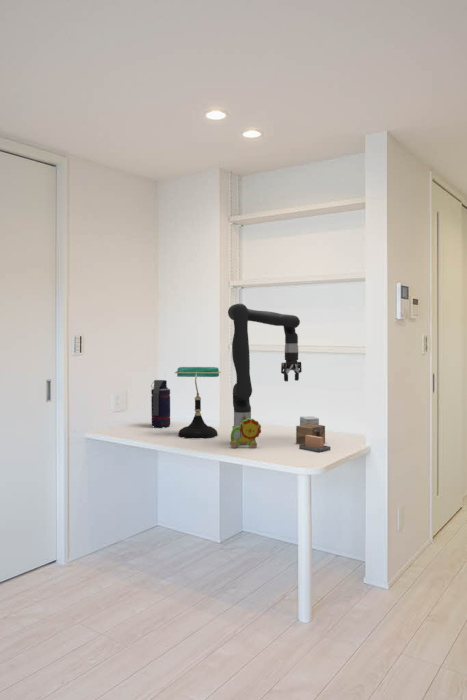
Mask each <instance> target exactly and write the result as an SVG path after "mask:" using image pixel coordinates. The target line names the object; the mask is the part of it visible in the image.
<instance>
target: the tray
mask: <svg viewBox="0 0 467 700" xmlns="http://www.w3.org/2000/svg"><path fill="white" fill-rule="evenodd" d="M298 445H299V447H298V449H299V450H303V451H309V452H313V453H323V452H328V451H331V446H330V445H329V446H328V445H324V448H319V449H318V448H313V447H307V446H305V444H303V445H301V444H298Z"/></svg>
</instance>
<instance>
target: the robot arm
mask: <svg viewBox="0 0 467 700" xmlns="http://www.w3.org/2000/svg"><path fill="white" fill-rule="evenodd" d="M227 315H228V317H229V319H230V320H232V321H233V327H234V332H233V337H232V343H231V356H232V361H233V366H234V370H235V374H236V383H235V384H234V385H233V387H232V388H233V389H232V406H233V426H232V430H233V429H234V428H235V427H238V426H240V424H241V423H242V421H243V420H246V419H247V418H250V419H252V406H251V403H250V402H251V401H250V398H251V396H252V393H253V386H252V380H251V373H250V372H251V368H250V365H251V361H250V359H251V358H250V343H249V341H250V340H249V332H248V331H249V330H248V329H249V328H248V322H256V323H259V324H264V325H269V326H277V327H283V331H284V335H285V338H284V361H285V362H281V363H280V364H281V365H280V373H281V374H283V380H284V382H287V383H288V382H289V372H291V371H293V372H294V381H299V380H300V377H299V375H300V374H301V373H302V371H303V369H302V361H299V344H298V343H299V342H298V341H299V334H297V333H296V332H297V331H296V328H298V327H299V325H300V324H301V321H300V319H299V317H298V316H297V315H293V314H287V313H283V314H282V313H279V312H274V311H273V312H272V311H268V310H256V309H251V308H250V309H249V308H248V307H247V306H246V305H245V304H243V303H235V304H232V305H231V306H229V308H228V310H227ZM241 436H242V433H241V432H240V431H235V432H234V439H235V440H237V439H238V438H239V437H241ZM241 445H245V446H246V444H241ZM241 445H240V446H241Z"/></svg>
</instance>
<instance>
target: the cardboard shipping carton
mask: <svg viewBox="0 0 467 700" xmlns="http://www.w3.org/2000/svg"><path fill="white" fill-rule="evenodd" d="M295 429H296V430H295V432H296V433H295V438H296V441H295V443H296V444H297V445H303V444H305V436H306V435H312V436H318V437H324V444H325V443H326V426H325V425H323V424H322V425H321V424H319V425H316V424H306V425H300V424H299V425H296V426H295Z"/></svg>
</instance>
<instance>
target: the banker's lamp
mask: <svg viewBox="0 0 467 700" xmlns="http://www.w3.org/2000/svg"><path fill="white" fill-rule="evenodd" d="M174 374H176V377H179V378H180V377H181V378H182V377H183V378H194V384H195V389H196V396H195V397H194V412H195V413H194V416H193V419H192V420H191V423H190V424H189V425H188V426H184V427H182V428H180V429H179V431H178V434H177V435H179V436H180V437H179V436H178V437H179V438H182V437H185V438H184V439H188V438H205V439H211V438H216V437H217V436H218V430H217V429H216V428H214V427H213V426H211V425H207V423H205V421H204V419H203V417H202V413H201V411H202V408H201V407H202V406H201V401H202V398H201V397H200V393H199V389H198V385H197V378H217V377H220V374H221V371H220V370H219V367H216V366H179V367H178V368H177V371H175V372H174ZM215 436H216V437H215Z"/></svg>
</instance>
